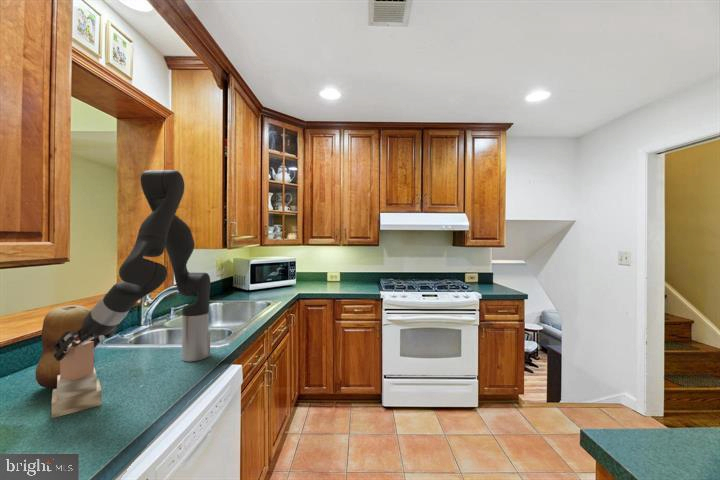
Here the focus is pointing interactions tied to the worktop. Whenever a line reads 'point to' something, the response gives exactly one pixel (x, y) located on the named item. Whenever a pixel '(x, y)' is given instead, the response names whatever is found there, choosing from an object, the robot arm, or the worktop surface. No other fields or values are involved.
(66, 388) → the beige stepped block
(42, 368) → the butternut squash
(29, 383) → the worktop surface
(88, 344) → the salmon pink rectangular block
